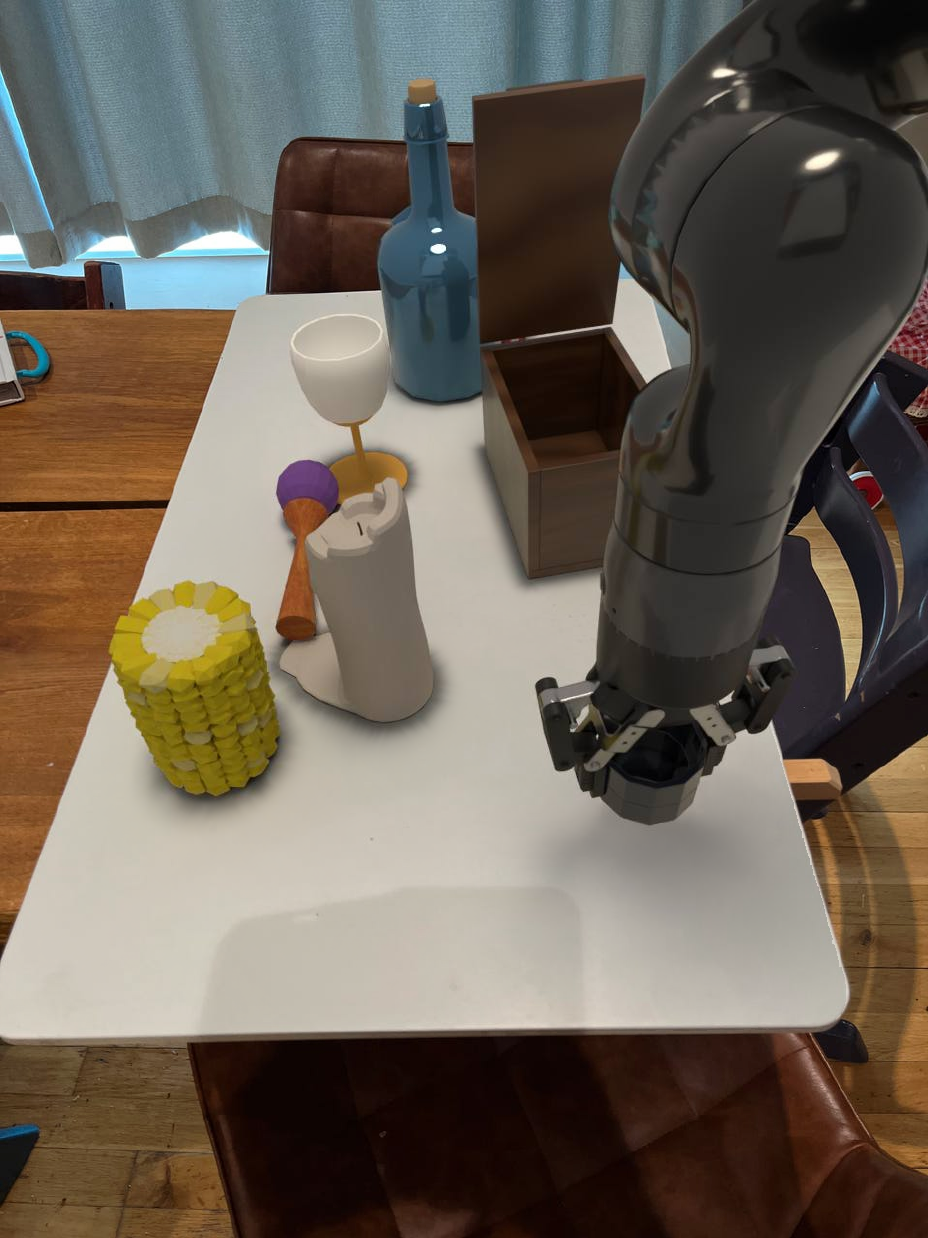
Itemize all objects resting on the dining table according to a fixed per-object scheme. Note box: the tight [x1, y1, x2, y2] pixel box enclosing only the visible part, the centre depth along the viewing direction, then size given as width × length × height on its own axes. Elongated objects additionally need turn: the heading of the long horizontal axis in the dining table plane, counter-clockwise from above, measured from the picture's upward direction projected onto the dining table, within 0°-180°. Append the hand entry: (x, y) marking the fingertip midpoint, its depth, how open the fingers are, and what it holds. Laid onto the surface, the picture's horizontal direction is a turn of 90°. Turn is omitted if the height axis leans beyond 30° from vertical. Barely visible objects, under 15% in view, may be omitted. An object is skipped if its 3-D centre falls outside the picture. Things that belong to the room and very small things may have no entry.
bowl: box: [597, 719, 708, 826], centre depth 48 cm, size 6×6×5 cm
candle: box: [279, 477, 435, 723], centre depth 57 cm, size 7×14×20 cm, turn 65°
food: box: [108, 579, 281, 797], centre depth 55 cm, size 15×12×10 cm
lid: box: [471, 73, 647, 344], centre depth 67 cm, size 21×13×5 cm
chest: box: [480, 326, 648, 580], centre depth 73 cm, size 20×13×12 cm, turn 10°
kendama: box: [275, 459, 339, 641], centre depth 72 cm, size 6×6×20 cm
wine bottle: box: [375, 78, 502, 403], centre depth 83 cm, size 14×13×30 cm
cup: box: [289, 313, 409, 506], centre depth 76 cm, size 9×9×16 cm
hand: (646, 773), depth 49 cm, fingers closed on bowl, 6 cm apart
